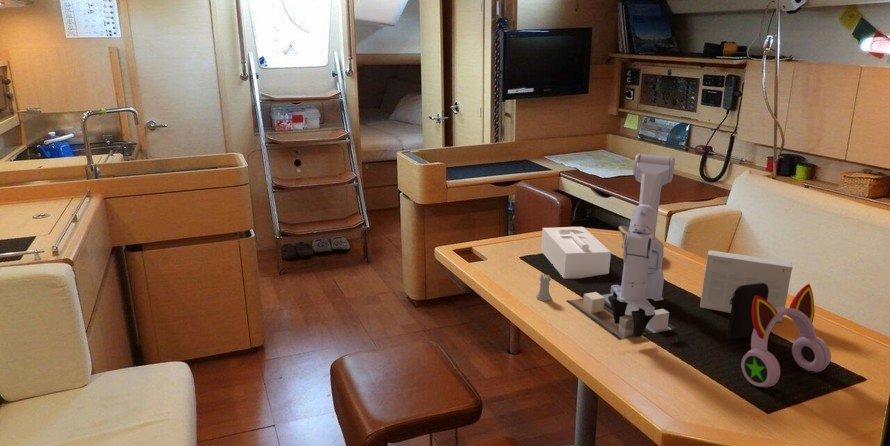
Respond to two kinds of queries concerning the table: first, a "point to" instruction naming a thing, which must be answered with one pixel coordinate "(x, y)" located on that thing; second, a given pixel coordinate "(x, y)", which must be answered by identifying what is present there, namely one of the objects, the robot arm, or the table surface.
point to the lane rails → (612, 313)
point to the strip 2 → (656, 323)
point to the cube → (593, 302)
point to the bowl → (623, 232)
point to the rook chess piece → (544, 288)
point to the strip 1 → (611, 321)
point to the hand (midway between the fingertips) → (628, 329)
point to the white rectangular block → (575, 252)
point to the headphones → (805, 348)
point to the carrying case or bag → (744, 309)
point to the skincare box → (742, 279)
